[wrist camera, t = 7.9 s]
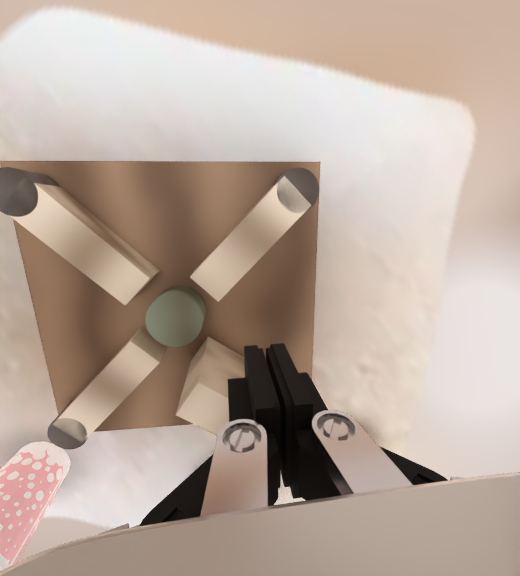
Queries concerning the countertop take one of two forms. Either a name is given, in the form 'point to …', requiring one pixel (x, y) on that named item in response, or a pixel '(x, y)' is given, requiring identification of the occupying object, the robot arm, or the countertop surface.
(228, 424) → the robot arm
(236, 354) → the hinged leg
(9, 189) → the stool seat
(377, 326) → the countertop surface
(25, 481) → the beverage cup
